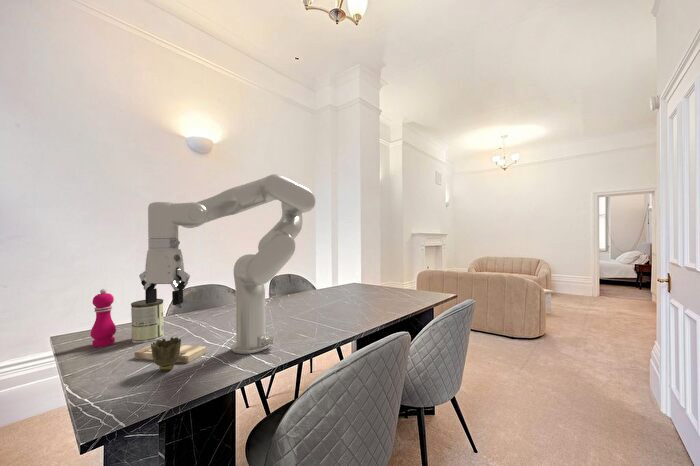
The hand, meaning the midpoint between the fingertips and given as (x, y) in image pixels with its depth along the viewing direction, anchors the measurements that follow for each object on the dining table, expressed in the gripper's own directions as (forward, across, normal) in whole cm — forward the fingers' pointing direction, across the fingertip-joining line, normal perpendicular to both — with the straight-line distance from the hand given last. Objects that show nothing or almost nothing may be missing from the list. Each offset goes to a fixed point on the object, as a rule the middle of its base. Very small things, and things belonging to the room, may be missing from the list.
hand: (164, 303), depth 87 cm
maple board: (+19, +6, -8) cm, 21 cm away
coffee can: (+19, +30, -20) cm, 41 cm away
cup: (+19, -1, +1) cm, 19 cm away
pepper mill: (+19, +40, -12) cm, 46 cm away
